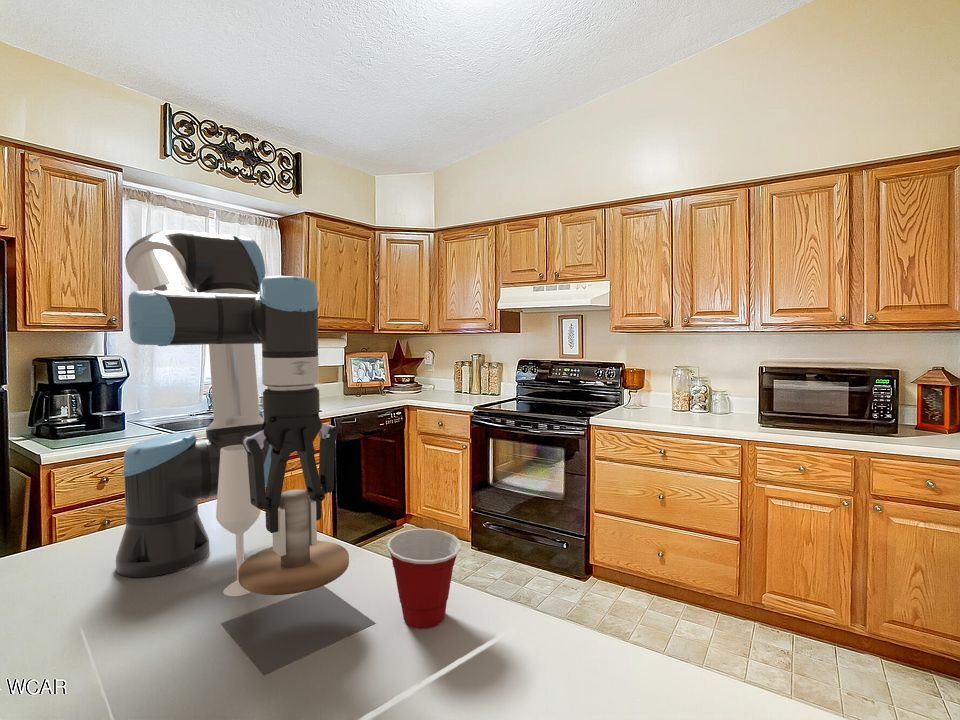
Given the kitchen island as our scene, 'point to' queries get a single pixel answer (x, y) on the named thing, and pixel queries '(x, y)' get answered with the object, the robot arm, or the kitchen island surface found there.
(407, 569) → the plastic cup
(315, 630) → the mat
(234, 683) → the kitchen island surface
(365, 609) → the kitchen island surface
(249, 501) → the champagne flute
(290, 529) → the lid
